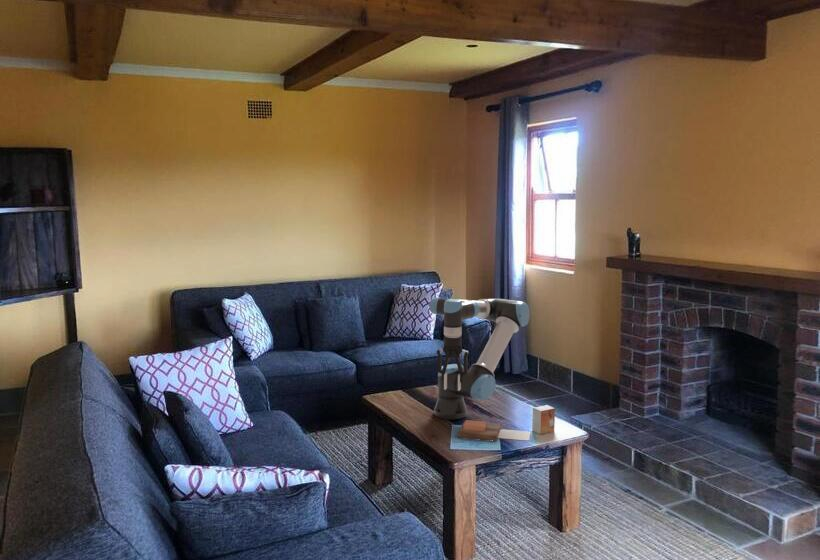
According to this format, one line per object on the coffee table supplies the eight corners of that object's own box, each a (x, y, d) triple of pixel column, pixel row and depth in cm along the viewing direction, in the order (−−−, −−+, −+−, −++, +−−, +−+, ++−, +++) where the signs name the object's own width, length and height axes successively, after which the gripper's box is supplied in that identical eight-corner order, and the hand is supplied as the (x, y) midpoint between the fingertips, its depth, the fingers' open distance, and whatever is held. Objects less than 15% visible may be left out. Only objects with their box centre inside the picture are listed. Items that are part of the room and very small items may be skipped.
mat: (500, 429, 288) (500, 429, 288) (530, 432, 284) (530, 431, 284) (497, 438, 278) (497, 437, 278) (528, 441, 275) (528, 440, 275)
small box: (540, 435, 281) (540, 411, 280) (531, 430, 286) (532, 407, 285) (554, 431, 285) (555, 408, 284) (546, 427, 290) (546, 404, 289)
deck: (464, 426, 292) (464, 420, 291) (500, 429, 288) (500, 424, 287) (458, 437, 278) (458, 432, 278) (496, 441, 274) (496, 435, 274)
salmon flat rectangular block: (463, 429, 281) (463, 424, 281) (466, 424, 287) (466, 419, 287) (484, 431, 279) (484, 426, 279) (486, 426, 285) (486, 421, 285)
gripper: (429, 336, 279) (429, 390, 282) (472, 339, 274) (472, 393, 277) (433, 332, 286) (433, 385, 289) (475, 335, 281) (475, 388, 285)
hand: (452, 389), depth 283 cm, fingers open, 5 cm apart
